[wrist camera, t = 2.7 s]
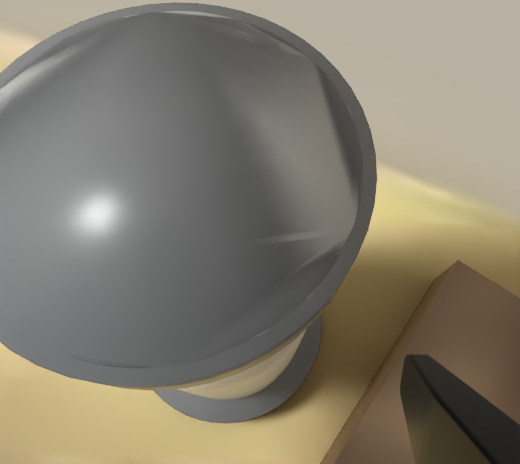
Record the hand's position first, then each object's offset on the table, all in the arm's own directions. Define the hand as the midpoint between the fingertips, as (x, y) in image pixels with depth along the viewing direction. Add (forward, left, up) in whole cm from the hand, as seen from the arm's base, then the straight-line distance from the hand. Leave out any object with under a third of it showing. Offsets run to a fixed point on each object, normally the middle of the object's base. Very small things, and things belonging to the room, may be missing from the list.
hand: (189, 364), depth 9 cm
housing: (+1, -2, -9) cm, 9 cm away
